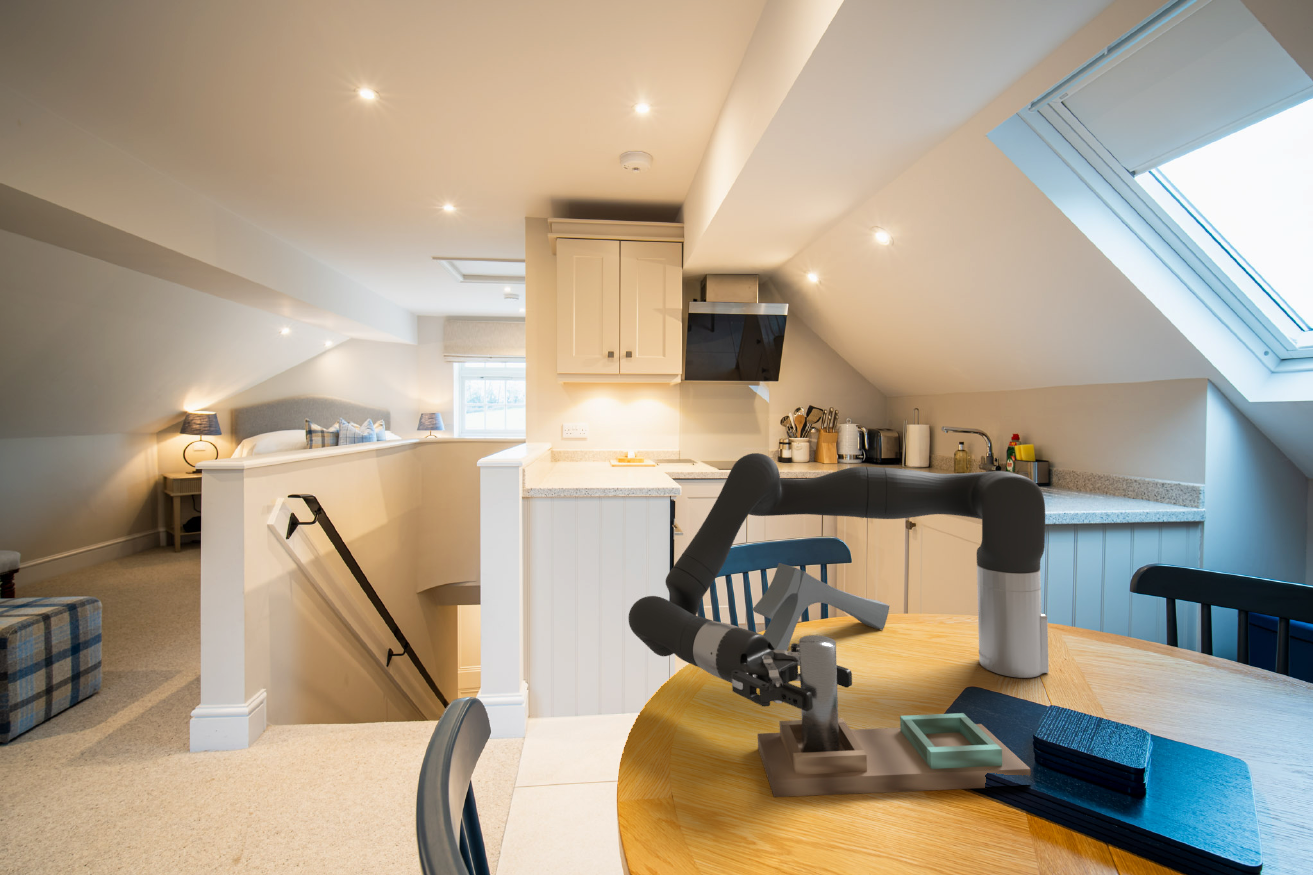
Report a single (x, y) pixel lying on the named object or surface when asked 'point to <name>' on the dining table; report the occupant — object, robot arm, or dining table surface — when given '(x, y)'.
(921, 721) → the brown insertion board
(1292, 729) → the dining table surface
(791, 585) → the grey bent piece
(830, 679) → the peg
